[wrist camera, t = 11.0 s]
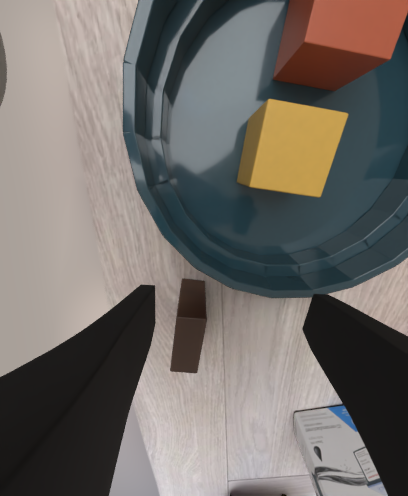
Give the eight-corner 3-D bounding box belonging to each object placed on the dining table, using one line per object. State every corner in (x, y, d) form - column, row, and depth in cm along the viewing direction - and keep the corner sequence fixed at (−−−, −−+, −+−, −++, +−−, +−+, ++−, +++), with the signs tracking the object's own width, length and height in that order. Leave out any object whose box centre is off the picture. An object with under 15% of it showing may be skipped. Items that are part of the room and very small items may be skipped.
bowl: (141, 254, 17) (122, 282, 13) (153, -105, 10) (122, -299, 6) (357, 280, 18) (404, 312, 14) (497, -19, 12) (667, -126, 7)
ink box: (364, 400, 24) (498, 588, 13) (361, 425, 26) (477, 609, 15) (292, 411, 25) (365, 602, 14) (293, 435, 27) (360, 621, 16)
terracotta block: (272, 79, 12) (304, 41, 9) (291, -11, 11) (339, -102, 7) (334, 91, 13) (390, 59, 9) (361, 5, 11) (441, -76, 8)
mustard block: (236, 182, 15) (249, 187, 11) (248, 117, 13) (268, 97, 9) (290, 190, 15) (321, 198, 11) (307, 128, 13) (350, 112, 10)
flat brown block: (176, 323, 20) (169, 371, 15) (182, 278, 18) (176, 316, 13) (197, 325, 20) (197, 373, 15) (204, 280, 18) (207, 319, 13)
